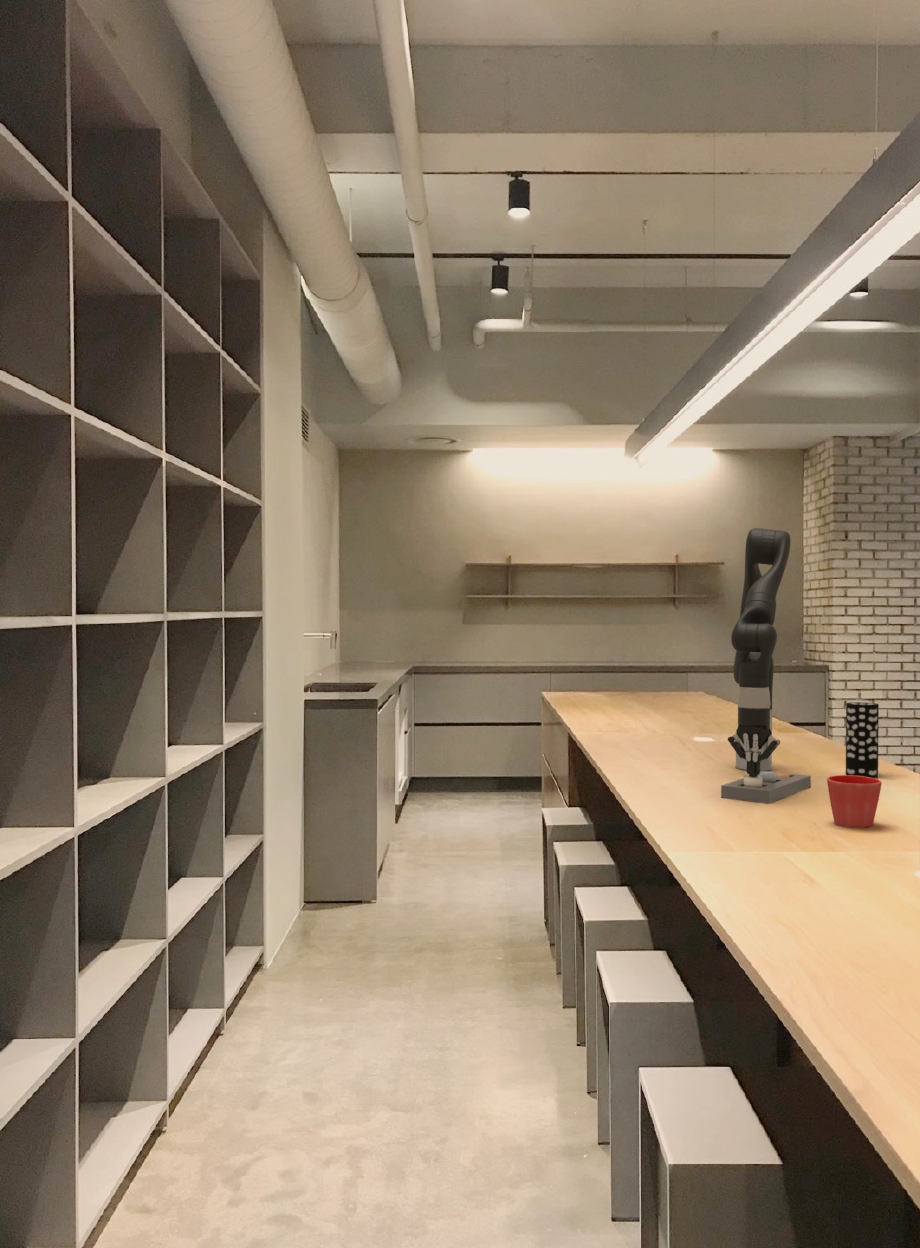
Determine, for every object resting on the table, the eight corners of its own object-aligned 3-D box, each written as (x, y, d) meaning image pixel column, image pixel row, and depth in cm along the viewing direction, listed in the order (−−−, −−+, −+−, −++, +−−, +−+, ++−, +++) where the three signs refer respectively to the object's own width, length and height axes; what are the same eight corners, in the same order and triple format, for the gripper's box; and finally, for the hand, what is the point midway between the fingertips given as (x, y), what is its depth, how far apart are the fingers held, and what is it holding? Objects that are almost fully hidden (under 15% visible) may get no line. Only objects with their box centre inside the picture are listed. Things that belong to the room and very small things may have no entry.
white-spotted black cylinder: (845, 777, 280) (845, 704, 280) (846, 773, 288) (846, 701, 287) (878, 779, 277) (878, 705, 276) (878, 775, 284) (878, 702, 284)
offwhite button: (740, 789, 250) (740, 777, 250) (747, 787, 254) (747, 775, 254) (758, 791, 247) (758, 779, 247) (765, 789, 251) (765, 777, 251)
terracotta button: (768, 785, 264) (769, 774, 264) (775, 783, 268) (775, 771, 268) (785, 787, 262) (785, 775, 262) (792, 785, 265) (792, 773, 265)
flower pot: (882, 831, 213) (882, 784, 213) (826, 827, 217) (826, 781, 217) (880, 821, 223) (880, 776, 223) (826, 817, 227) (827, 773, 227)
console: (721, 797, 250) (721, 785, 250) (765, 782, 272) (765, 771, 272) (769, 803, 243) (769, 791, 243) (810, 787, 265) (810, 775, 265)
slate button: (755, 784, 257) (755, 772, 257) (762, 782, 261) (762, 770, 261) (772, 786, 254) (772, 774, 254) (778, 784, 258) (779, 772, 258)
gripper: (721, 705, 251) (721, 776, 251) (774, 708, 243) (774, 781, 243) (734, 703, 257) (733, 772, 257) (786, 706, 249) (785, 777, 249)
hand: (753, 776), depth 250 cm, fingers closed
